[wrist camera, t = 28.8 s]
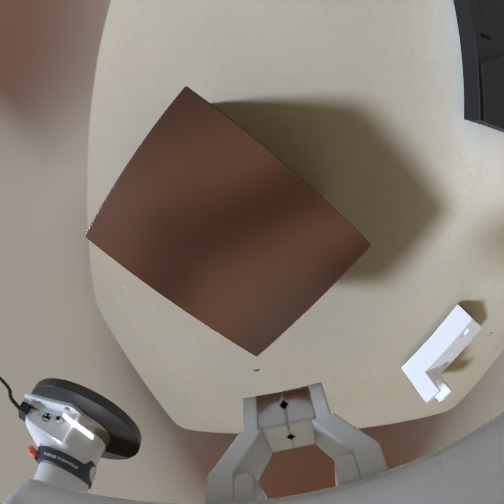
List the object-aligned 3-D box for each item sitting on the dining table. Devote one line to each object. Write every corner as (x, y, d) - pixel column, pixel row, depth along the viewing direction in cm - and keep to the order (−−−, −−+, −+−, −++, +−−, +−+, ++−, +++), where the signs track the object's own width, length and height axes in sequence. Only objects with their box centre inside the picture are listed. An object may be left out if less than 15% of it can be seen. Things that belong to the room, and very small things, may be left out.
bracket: (418, 371, 44) (441, 401, 37) (401, 367, 40) (426, 402, 34) (468, 314, 40) (496, 342, 33) (457, 304, 36) (489, 336, 30)
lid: (367, 241, 21) (371, 245, 21) (256, 350, 25) (256, 357, 24) (187, 87, 17) (185, 85, 16) (88, 232, 20) (84, 236, 20)
